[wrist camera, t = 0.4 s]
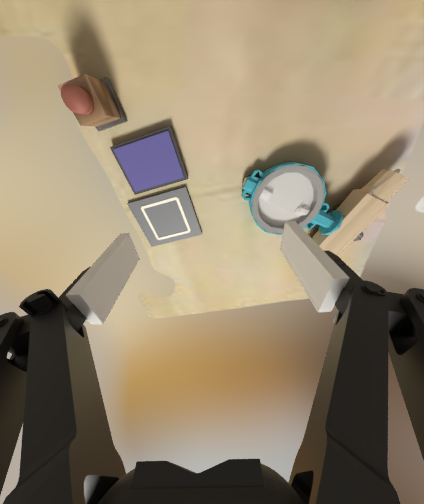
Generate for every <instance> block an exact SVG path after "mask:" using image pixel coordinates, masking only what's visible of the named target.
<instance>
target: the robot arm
mask: <svg viewBox="0 0 424 504" xmlns="http://www.w3.org/2000/svg"><path fill="white" fill-rule="evenodd" d="M280 250H281V252H282V253H283V255H284V257H285V258H286V260H287V262H288V263H289V265H290V267H291V268H292V270H293V272H294V273H295V275H296V277H297V278H298V280H299V282H300V283H301V285H302V287H303V288H304V290H305V292H306V293H307V295H308V297H309V298H310V300H311V301H312V303H313V305H314V306H315V308H316V310H317V311H318V312H331V310H332V309H333V307H334V306H336V307H337V309H338V310H339V312H338V313H337V315H336V317H335V318H334V320H333V322H334V327H333V331H332V334H331V338H330V342H329V346H328V350H327V353H326V357H325V360H324V364H323V368H322V372H321V376H320V379H319V383H318V387H317V391H316V394H315V398H314V401H313V405H312V409H311V413H310V416H309V420H308V424H307V428H306V432H305V435H304V438H303V442H302V444H301V446H300V449H299V451H298V453H297V456H296V459H295V462H294V465H293V469H292V472H291V476H290V480H289V483H288V482H287V481H286V480H285V479H284V478H283V477H282V476H280V475H279V474H278V473H277V472H275V471H274V470H272V469H271V468H269V467H267V466H265V465H263V464H261V463H260V459H232V460H227V461H225V462H223V463H220V464H218V465H216V466H214V467H212V468H210V469H207V470H205V471H203V472H201V473H195V472H192V471H190V470H188V469H185V468H183V467H181V466H178V465H176V464H173V463H170V462H168V461H145V462H137V463H136V467H135V469H133V470H132V471H130V472H129V473H127V474H126V472H125V469H124V465H123V462H122V460H121V457H120V456H119V454H118V452H117V451H116V449H115V447H114V444H113V441H112V437H111V432H110V428H109V424H108V420H107V416H106V411H105V407H104V403H103V399H102V395H101V391H100V387H99V382H98V378H97V374H96V369H95V365H94V361H93V357H92V353H91V349H90V344H89V340H88V336H87V332H86V328H85V326H84V325H83V323H84V322H85V320H86V319H87V320H88V321H89V322H90V324H91V325H92V324H103V323H104V321H105V319H106V318H107V316H108V314H109V313H110V311H111V309H112V307H113V305H114V304H115V302H116V300H117V298H118V296H119V295H120V293H121V291H122V289H123V288H124V286H125V284H126V282H127V280H128V279H129V277H130V275H131V273H132V271H133V270H134V268H135V266H136V264H137V262H138V261H139V256H138V254H137V251H136V249H135V246H134V244H133V242H132V239H131V237H130V235H129V233H124V234H120V235H119V236H118V237H117V238H116V239H115V240H114V242H113V243H112V244H111V245H110V246H109V247H108V248H107V249H106V250H105V251H104V253H103V254H102V255H101V256H100V257H99V258H98V259H97V260H96V262H95V263H94V264H93V265H92V266H91V267H89V268H87V269H86V270H85V271H83V272H82V273H81V274H80V275H79V276H78V277H77V279H75V280H74V281H73V283H72V284H71V285H70V286H69V287H68V288H67V289H66V290H65V291H64V292H63V293H62V295H61V296H60V297H59V298H58V297H57V296H56V295H55V294H54V293H53V292H52V291H51V290H48V289H46V290H41V291H38V292H36V293H34V294H32V295H30V296H28V297H27V298H26V299H24V300H23V301H22V302H21V304H20V306H19V307H20V308H21V309H23V310H24V311H25V312H26V313H27V314H29V315H26V316H22V317H20V316H18V315H17V314H16V313H14V312H9V313H5V314H3V315H0V494H1V491H2V488H3V485H4V481H5V478H6V475H7V472H8V468H9V465H10V462H11V459H12V456H13V453H14V449H15V446H16V443H17V440H18V436H19V433H20V430H21V427H22V424H23V435H22V449H21V463H20V477H19V481H18V483H17V486H16V488H15V489H14V490H13V491H12V492H11V493H10V494H9V495H8V496H7V497H6V499H5V501H4V503H3V504H400V502H399V498H398V495H397V492H396V490H395V489H394V487H393V485H392V484H391V482H390V480H389V477H388V469H387V452H388V445H387V444H388V443H387V442H388V441H387V440H388V352H389V355H390V358H391V361H392V364H393V367H394V370H395V373H396V376H397V379H398V382H399V386H400V389H401V392H402V395H403V398H404V401H405V404H406V407H407V410H408V413H409V416H410V420H411V423H412V426H413V429H414V432H415V435H416V438H417V441H418V444H419V447H420V450H421V454H422V457H423V459H424V290H423V289H417V288H412V289H409V290H408V291H407V292H406V293H405V294H404V295H403V294H397V293H391V292H386V290H385V289H384V288H382V287H381V286H379V285H377V284H375V283H373V282H369V281H363V280H362V279H361V278H360V277H359V276H358V275H357V274H356V273H355V272H354V271H353V270H352V269H351V268H350V267H348V266H347V265H346V264H345V263H344V262H343V261H342V260H341V259H340V258H339V257H338V256H337V255H336V254H334V253H332V252H330V251H329V250H328V251H323V250H322V249H321V248H320V247H319V246H318V245H317V243H316V242H315V241H314V240H313V239H312V238H311V237H310V236H309V235H308V234H307V233H306V232H305V231H304V230H303V229H302V228H301V227H300V226H299V225H298V224H297V223H296V222H295V221H286V222H285V225H284V231H283V236H282V241H281V246H280ZM8 352H10V353H12V356H11V358H10V359H7V353H8Z"/></svg>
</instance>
